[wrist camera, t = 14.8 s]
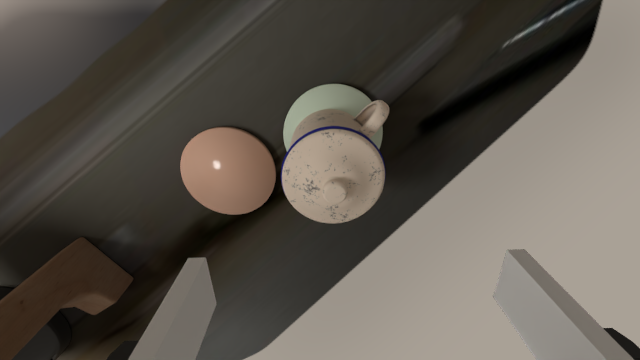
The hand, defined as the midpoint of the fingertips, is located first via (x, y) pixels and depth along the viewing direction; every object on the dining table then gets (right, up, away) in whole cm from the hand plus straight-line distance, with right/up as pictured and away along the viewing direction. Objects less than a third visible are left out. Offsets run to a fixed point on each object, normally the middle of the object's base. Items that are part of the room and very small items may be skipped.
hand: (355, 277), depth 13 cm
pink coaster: (-12, +5, +22) cm, 26 cm away
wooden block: (-32, -7, +28) cm, 44 cm away
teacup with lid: (0, +9, +20) cm, 22 cm away
